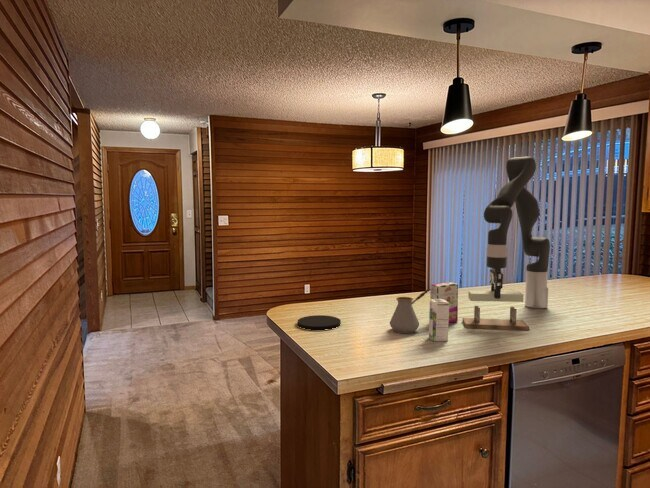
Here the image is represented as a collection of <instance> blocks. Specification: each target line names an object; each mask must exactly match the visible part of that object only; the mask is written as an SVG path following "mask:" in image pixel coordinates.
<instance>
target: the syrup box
mask: <svg viewBox="0 0 650 488" xmlns="http://www.w3.org/2000/svg"><path fill="white" fill-rule="evenodd" d="M428 317H429V318H428V319H429V320H428V338H430V340H431V341H432V342H447V341H449V324H450V323H449V302H447V301H445V300H444V299H429V315H428Z"/></svg>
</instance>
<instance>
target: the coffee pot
mask: <svg viewBox="0 0 650 488" xmlns="http://www.w3.org/2000/svg"><path fill="white" fill-rule="evenodd" d="M430 290H431V289H430V288H427V289H425V290H424V291H423V292H421V293H420V294H419V295H418V296H417V297H416V298H415V299H414V298H412V297H411V296H410V297H409V296H398V297H396V301H397V305H396V308H394V309H395V310H394V311H393V314H392V317H391V319H390V321H389V326H390V328H391V329H392V330H393V331H395V332H396V333H399V334H411V333H415V331H416V330H417V329H418V328H419V326H420V322H419V319H418V317H417V314H416V313H415V310H414V306H413V304H415V303H416V302H417V301H419V300H420V299H421V298H422V297H424V296H425V295H426V294H427V293H429V294H430ZM431 291H432V290H431ZM431 293H432V292H431Z"/></svg>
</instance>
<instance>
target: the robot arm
mask: <svg viewBox="0 0 650 488" xmlns="http://www.w3.org/2000/svg"><path fill="white" fill-rule="evenodd" d="M505 166H506V167H505V169H506V176H507V177H508V182H507V183H506V184H505V185H504V186H503V187H501V189H500V191H499V193H498V194H497V196H496V198H494V199H493V201H491V202H490V203H489V204H488V205H486V207H485V209H484V212H483V219H484V221H485V222H486V223H489V224H500V225H499V227H498V228H493V229H489V231H488V233H487V247H486V267H487V268H490V269H489V284H490V291H494V298H495V299H500V293H501V291H502V289H503V287H504V286H503V285H504V274H503V272H502V269H506V268H507V266H508V263H507V262H508V261H507V260H508V248H507V247H508V245H507V244H508V243H507V242H508V240H507V238H508V230H509V228H510V225H511V221H512V218H513V210H512V207H514V205H515V209H516V214H517V217H518V222H519V226H520V232H521V240H522V248H523V252H524V254H525V255H526V256H528V257H536V258H537V257H538V260H536V261H535V262H531V263H528V264H527V265H526V269H525V270H526V272H525V296H524V297H525V299H524V300H525V301H524V307H527V308H531V309H548V306H549V288H548V272H549V270H548V269H549V261H550V251H551V243H550V239H549V238H548V237H542V236H541V237H540V236H533V235H532V234H533V233H532V230H533V228H534V226H535V224H536V222H537V221H538V219H539V217H540V207H539V203H538V200H537V198H536V197H535V196H534V195H533V194H532V193H531V192H530V190H528V188H526V185H527V184H528V183H529V182H530V181H531V179H532V178H533V177H534V175H535V173H536V170H537V169H536V168H537V163H536V159H535V158H534V157H533V156H517V157H510V158H509V159H507V161H506V165H505Z"/></svg>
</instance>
